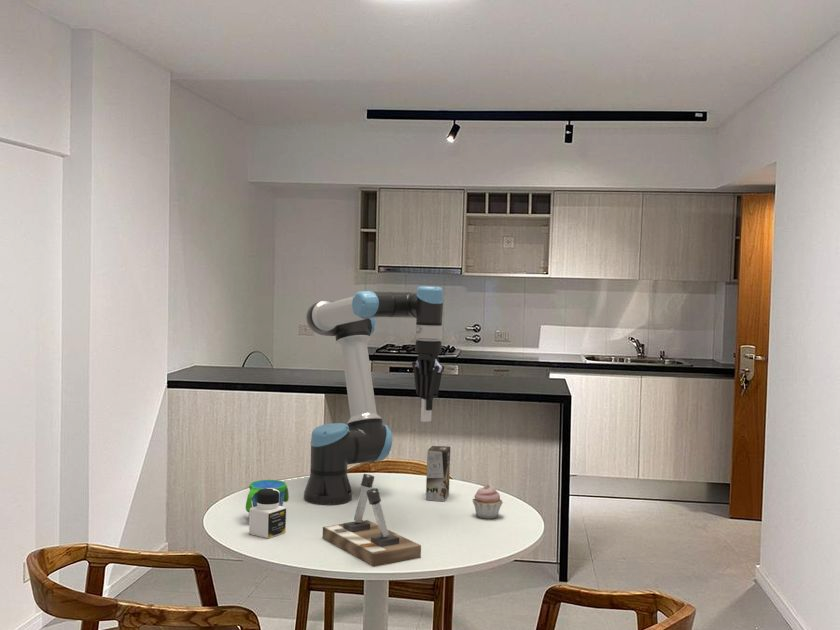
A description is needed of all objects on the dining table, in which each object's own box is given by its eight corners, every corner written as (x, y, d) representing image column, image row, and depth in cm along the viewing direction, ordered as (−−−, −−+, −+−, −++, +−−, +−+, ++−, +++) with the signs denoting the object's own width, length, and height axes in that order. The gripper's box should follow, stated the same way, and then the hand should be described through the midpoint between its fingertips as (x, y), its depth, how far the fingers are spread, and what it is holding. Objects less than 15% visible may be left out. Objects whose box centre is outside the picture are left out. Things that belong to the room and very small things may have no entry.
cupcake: (464, 515, 255) (465, 482, 255) (485, 510, 262) (486, 478, 261) (488, 522, 248) (489, 488, 248) (508, 517, 255) (510, 484, 255)
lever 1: (349, 519, 228) (361, 473, 229) (359, 520, 230) (370, 475, 231) (355, 522, 226) (367, 475, 227) (364, 523, 227) (376, 477, 229)
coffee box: (444, 501, 270) (446, 451, 270) (425, 500, 272) (426, 450, 271) (449, 495, 279) (451, 446, 279) (430, 493, 281) (432, 444, 280)
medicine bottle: (268, 539, 226) (269, 494, 226) (248, 534, 230) (249, 490, 230) (286, 532, 232) (287, 489, 232) (266, 528, 236) (267, 485, 236)
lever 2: (376, 536, 216) (364, 492, 214) (386, 531, 218) (373, 487, 215) (382, 539, 214) (370, 495, 211) (392, 534, 216) (380, 489, 213)
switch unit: (322, 538, 229) (323, 521, 228) (367, 530, 237) (367, 514, 236) (373, 566, 207) (374, 548, 207) (420, 557, 215) (421, 539, 215)
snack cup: (258, 528, 236) (259, 491, 236) (233, 520, 243) (234, 485, 242) (299, 517, 248) (300, 482, 248) (275, 510, 255) (276, 476, 254)
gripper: (405, 338, 249) (402, 418, 250) (431, 341, 238) (428, 425, 239) (426, 338, 253) (423, 416, 254) (452, 341, 242) (449, 423, 243)
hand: (426, 420), depth 246 cm, fingers closed
